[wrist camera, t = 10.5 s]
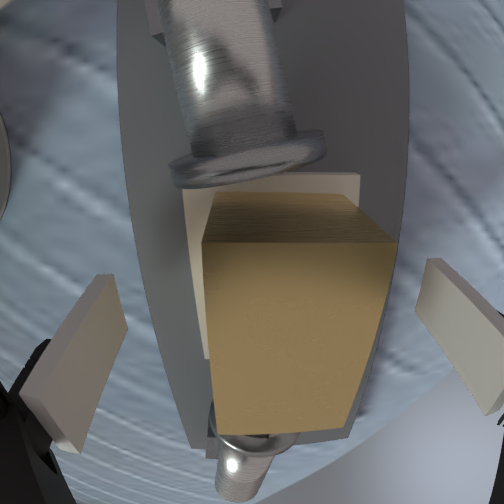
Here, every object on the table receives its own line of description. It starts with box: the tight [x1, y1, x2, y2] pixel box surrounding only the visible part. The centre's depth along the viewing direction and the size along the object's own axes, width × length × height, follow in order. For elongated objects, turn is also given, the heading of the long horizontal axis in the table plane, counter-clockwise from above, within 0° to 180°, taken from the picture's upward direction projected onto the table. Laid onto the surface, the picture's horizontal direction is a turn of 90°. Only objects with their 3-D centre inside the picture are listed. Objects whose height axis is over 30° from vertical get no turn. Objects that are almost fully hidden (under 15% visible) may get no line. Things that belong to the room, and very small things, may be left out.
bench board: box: [117, 0, 409, 449], centre depth 15 cm, size 12×30×1 cm, turn 2°
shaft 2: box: [206, 399, 301, 502], centre depth 16 cm, size 9×4×6 cm, turn 172°
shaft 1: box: [144, 0, 327, 189], centre depth 8 cm, size 9×4×6 cm, turn 12°
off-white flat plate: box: [182, 172, 360, 359], centre depth 14 cm, size 7×9×1 cm
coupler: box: [201, 192, 398, 435], centre depth 12 cm, size 8×5×5 cm, turn 179°
